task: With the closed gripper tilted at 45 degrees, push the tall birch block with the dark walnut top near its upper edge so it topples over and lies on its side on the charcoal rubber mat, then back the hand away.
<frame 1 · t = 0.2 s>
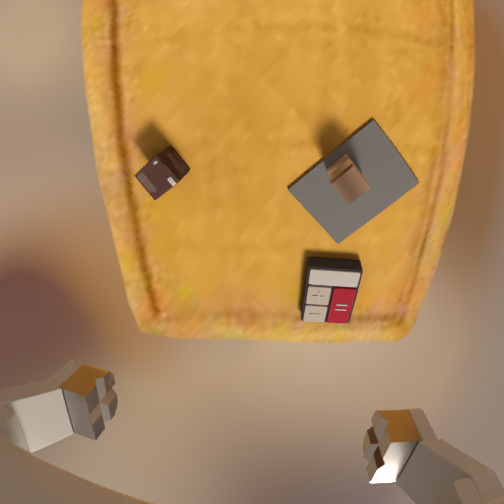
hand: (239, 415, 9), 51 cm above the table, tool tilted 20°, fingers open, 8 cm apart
mat: (355, 184, 56), on the table
block: (344, 170, 55), point 1 cm above the table, touching mat
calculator: (329, 286, 69), on the table
box: (170, 165, 59), on the table
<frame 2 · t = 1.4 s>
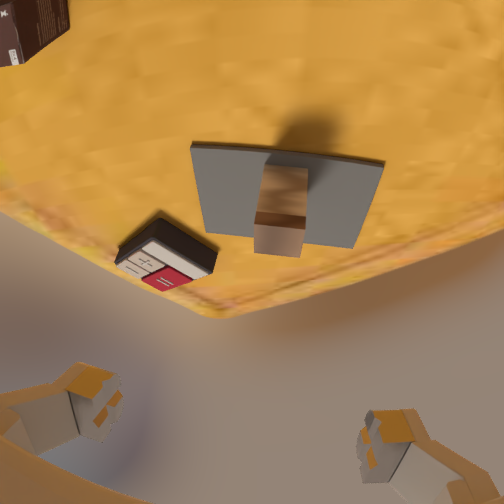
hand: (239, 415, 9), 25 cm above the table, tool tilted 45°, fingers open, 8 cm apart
mat: (283, 199, 38), on the table
block: (284, 181, 35), point 1 cm above the table, touching mat
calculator: (165, 249, 52), on the table
box: (46, 7, 19), on the table
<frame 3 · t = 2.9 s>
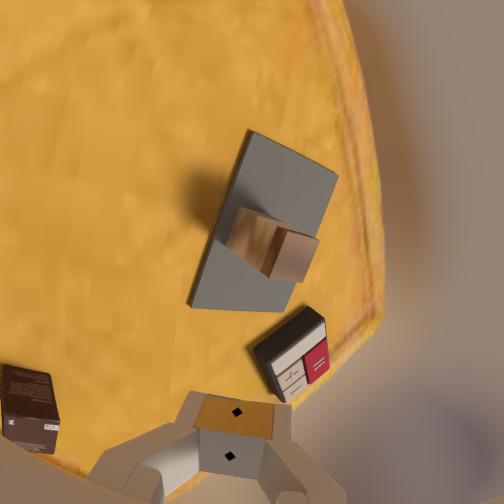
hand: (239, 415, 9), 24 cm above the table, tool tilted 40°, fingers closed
mat: (268, 234, 39), on the table
block: (248, 230, 36), point 1 cm above the table, touching mat
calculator: (289, 352, 52), on the table
box: (24, 386, 27), on the table
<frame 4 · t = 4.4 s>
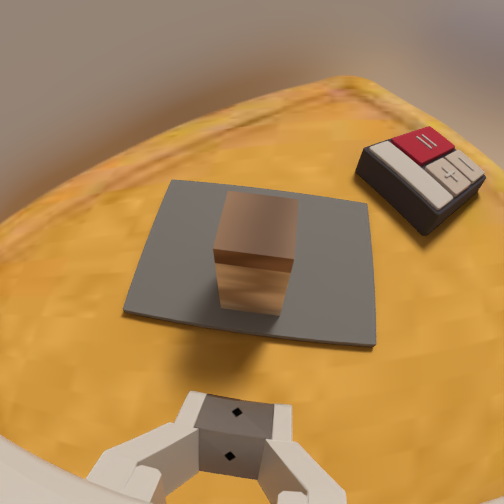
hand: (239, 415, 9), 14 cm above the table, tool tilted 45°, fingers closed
mat: (259, 254, 28), on the table
block: (254, 286, 26), point 1 cm above the table, touching mat
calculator: (422, 183, 35), on the table
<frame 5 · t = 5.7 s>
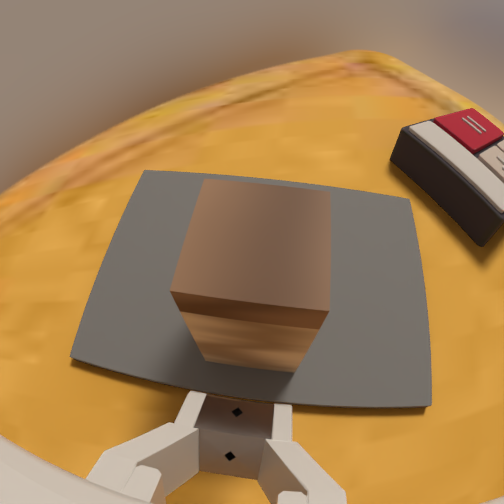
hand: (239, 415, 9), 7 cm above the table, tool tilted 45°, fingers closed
mat: (263, 274, 19), on the table
block: (255, 326, 17), point 1 cm above the table, touching mat
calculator: (469, 177, 26), on the table
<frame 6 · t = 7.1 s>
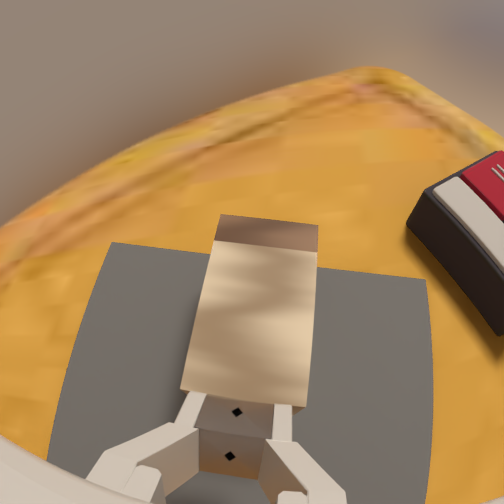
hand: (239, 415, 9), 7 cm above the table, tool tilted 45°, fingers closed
mat: (248, 388, 15), on the table
block: (243, 406, 12), point 3 cm above the table, tilted 90°, touching mat
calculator: (493, 239, 21), on the table
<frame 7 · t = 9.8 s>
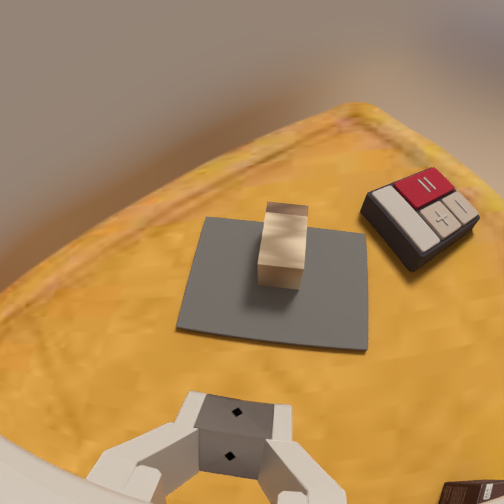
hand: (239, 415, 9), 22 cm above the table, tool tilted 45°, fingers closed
mat: (279, 279, 36), on the table
block: (279, 277, 33), point 3 cm above the table, tilted 90°, touching mat
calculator: (419, 221, 41), on the table
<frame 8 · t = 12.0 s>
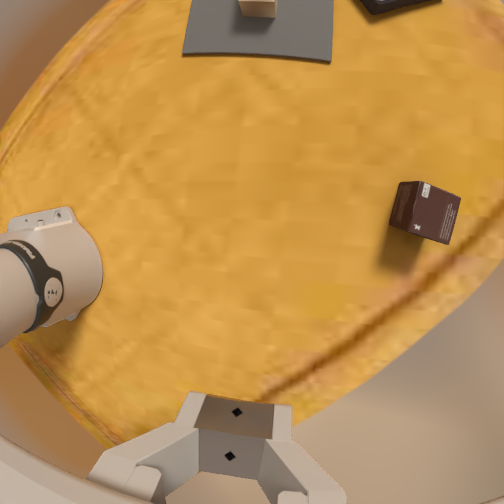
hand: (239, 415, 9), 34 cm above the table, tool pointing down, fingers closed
mat: (260, 12, 36), on the table
block: (257, 9, 33), point 3 cm above the table, tilted 90°, touching mat
box: (412, 209, 40), on the table
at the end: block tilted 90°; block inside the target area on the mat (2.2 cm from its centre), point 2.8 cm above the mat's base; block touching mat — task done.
